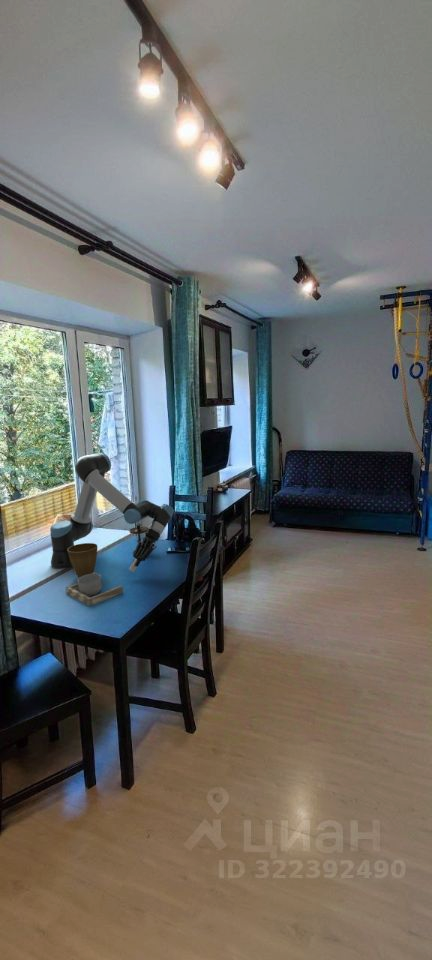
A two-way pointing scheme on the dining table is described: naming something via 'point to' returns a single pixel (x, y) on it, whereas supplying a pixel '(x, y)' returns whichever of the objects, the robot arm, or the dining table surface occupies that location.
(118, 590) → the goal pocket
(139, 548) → the robot arm
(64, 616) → the dining table surface
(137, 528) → the candlestick
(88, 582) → the teacup
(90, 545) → the plant pot
